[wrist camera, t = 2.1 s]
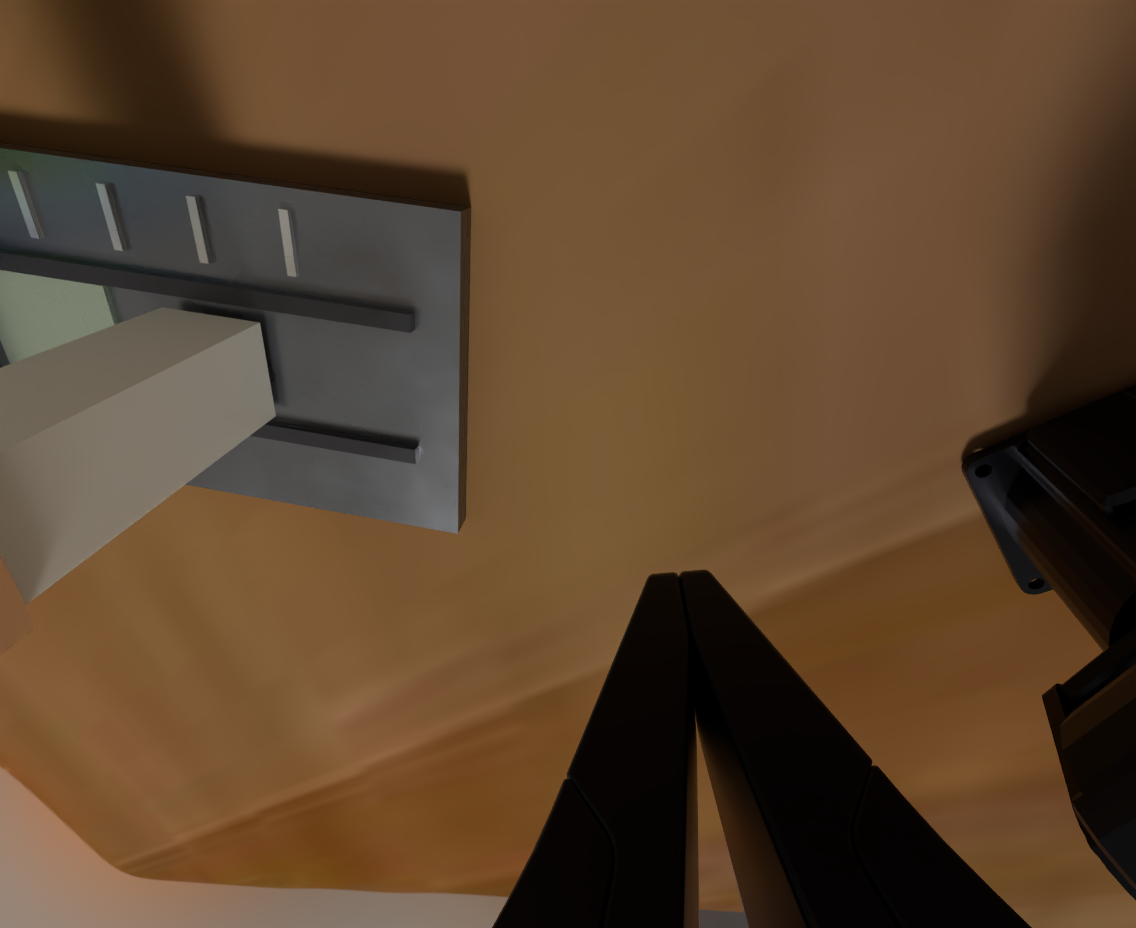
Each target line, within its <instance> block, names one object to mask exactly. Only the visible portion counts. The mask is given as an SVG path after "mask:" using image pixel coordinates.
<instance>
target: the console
mask: <svg viewBox="0 0 1136 928" xmlns="http://www.w3.org/2000/svg"><path fill="white" fill-rule="evenodd" d="M470 220H471V207H465V206H458V205H451V204H443V203H436V202H429V201H422V200H414V199H407V198H400V197H392V196H385V195H378V194H371V193H363V192H356V191H349V190H341V189H334V188H327V187H320V186H312V185H305V184H298V183H290V182H283V181H276V180H269V179H261V178H254V177H247V176H239V175H232V174H225V173H218V172H210V171H203V170H196V169H188V168H181V167H174V166H167V165H159V164H152V163H145V162H137V161H130V160H123V159H116V158H108V157H101V156H94V155H86V154H79V153H72V152H65V151H57V150H50V149H43V148H35V147H28V146H21V145H14V144H6V143H0V368H1V367H4V366H6V365H9V364H12V363H14V362H17V361H20V360H22V359H25V358H28V357H30V356H33V355H36V354H38V353H41V352H44V351H46V350H49V349H52V348H55V347H57V346H60V345H63V344H65V343H68V342H71V341H73V340H76V339H79V338H81V337H84V336H87V335H89V334H92V333H95V332H97V331H100V330H103V329H105V328H108V327H111V326H113V325H116V324H119V323H121V322H124V321H127V320H129V319H132V318H135V317H138V316H140V315H143V314H146V313H148V312H151V311H154V310H156V309H159V308H162V307H164V308H170V309H177V310H183V311H189V312H196V313H202V314H208V315H215V316H221V317H228V318H234V319H240V320H247V321H253V322H260V326H261V332H262V338H263V343H264V349H265V355H266V361H267V367H268V373H269V379H270V384H271V390H272V396H273V402H274V408H275V414H276V416H275V417H274V418H273V419H271V420H270V421H269V422H267V423H266V424H265V425H263V426H262V427H261V428H259V429H258V430H257V431H255V432H254V433H253V434H251V435H250V436H249V437H247V438H246V439H245V440H243V441H242V442H241V443H240V444H238V445H237V446H236V447H234V448H233V449H232V450H230V451H229V452H228V453H226V454H225V455H224V456H222V457H221V458H220V459H218V460H217V461H216V462H214V463H213V464H212V465H210V466H209V467H208V468H206V469H205V470H204V471H202V472H201V473H200V474H198V475H197V476H196V477H195V478H193V479H192V480H191V481H189V482H188V483H187V484H185V485H191V486H197V487H202V488H208V489H213V490H219V491H224V492H230V493H235V494H241V495H246V496H252V497H258V498H263V499H269V500H274V501H280V502H285V503H291V504H296V505H302V506H307V507H313V508H319V509H324V510H330V511H335V512H341V513H346V514H352V515H357V516H363V517H368V518H374V519H380V520H385V521H391V522H396V523H402V524H407V525H413V526H418V527H424V528H429V529H435V530H441V531H446V532H452V533H457V534H458V532H459V531H460V529H461V527H462V525H463V523H464V521H465V512H466V453H467V395H468V337H469V279H470Z"/></svg>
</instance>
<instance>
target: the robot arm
mask: <svg viewBox="0 0 1136 928" xmlns="http://www.w3.org/2000/svg"><path fill="white" fill-rule="evenodd" d="M984 464H987V465H986V467H985V468H984V469H983V470H981V471H977V472H976V471H975V470H976V468H977V467H979V466H980V465H984ZM961 467H962V472H963V474H964V476H965V478H966V480H967V482H968V484H969V486H970V489H971V491H972V493H973V495H974V497H975V499H976V501H977V503H978V505H979V507H980V509H981V511H982V513H983V515H984V517H985V519H986V522H987V524H988V526H989V528H990V530H991V532H992V534H993V536H994V538H995V540H996V542H997V544H998V546H999V548H1000V550H1001V553H1002V555H1003V557H1004V559H1005V561H1006V563H1007V565H1008V567H1009V569H1010V571H1011V573H1012V575H1013V577H1014V579H1015V581H1016V583H1017V584H1018V586H1019V587H1020V588H1021V590H1022V591H1023V592H1025V593H1027V594H1034V595H1035V594H1040V593H1043V592H1047V591H1050V590H1053V589H1054V591H1055V592H1056V593H1057V594H1058V596H1059V597H1060V598H1061V599H1062V601H1063V602H1064V603H1065V604H1066V605H1067V607H1068V608H1069V609H1070V610H1071V612H1072V613H1073V614H1074V615H1075V617H1076V618H1077V619H1078V620H1079V622H1080V623H1081V624H1082V625H1083V627H1084V628H1085V629H1086V630H1087V631H1088V633H1089V634H1090V635H1091V636H1092V638H1093V639H1094V640H1095V641H1096V643H1097V644H1098V645H1099V646H1100V648H1101V649H1102V650H1103V652H1102V653H1101V654H1100V655H1098V656H1097V657H1096V658H1095V659H1093V660H1092V661H1091V662H1090V663H1088V664H1087V665H1086V666H1085V667H1083V668H1082V669H1081V670H1080V671H1078V672H1077V673H1076V674H1075V675H1073V676H1072V677H1071V678H1070V679H1068V680H1067V681H1066V682H1065V683H1063V684H1062V685H1061V684H1055V685H1054V686H1053V687H1052V688H1050V689H1049V690H1048V691H1047V692H1045V693H1044V694H1043V695H1042V699H1043V702H1044V706H1045V710H1046V713H1047V717H1048V720H1049V724H1050V728H1051V731H1052V735H1053V738H1054V742H1055V746H1056V749H1057V753H1058V756H1059V760H1060V764H1061V767H1062V771H1063V774H1064V778H1065V782H1066V785H1067V789H1068V792H1069V796H1070V800H1071V803H1072V807H1073V810H1074V813H1075V815H1076V818H1077V821H1078V823H1079V826H1080V828H1081V830H1082V831H1083V833H1084V835H1085V837H1086V840H1087V842H1088V844H1089V846H1090V848H1091V849H1092V850H1093V852H1094V853H1095V854H1096V855H1097V856H1098V857H1099V858H1100V859H1101V861H1102V862H1103V864H1104V865H1105V866H1106V868H1107V869H1108V870H1109V872H1110V873H1111V874H1112V875H1113V876H1114V877H1115V878H1116V879H1117V881H1118V882H1119V883H1120V884H1121V885H1122V886H1123V887H1124V888H1125V890H1126V891H1127V892H1128V893H1129V894H1130V895H1131V896H1132V897H1133V898H1134V899H1135V900H1136V385H1135V386H1133V387H1130V388H1128V389H1126V390H1123V391H1121V392H1117V393H1114V394H1112V395H1110V396H1107V397H1105V398H1103V399H1100V400H1098V401H1095V402H1093V403H1091V404H1088V405H1086V406H1084V407H1081V408H1079V409H1076V410H1074V411H1072V412H1069V413H1067V414H1065V415H1062V416H1060V417H1057V418H1055V419H1053V420H1050V421H1048V422H1046V423H1043V424H1041V425H1038V426H1036V427H1034V428H1032V429H1030V430H1028V431H1026V432H1023V433H1021V434H1019V435H1016V436H1014V437H1011V438H1009V439H1007V440H1004V441H1002V442H1000V443H997V444H995V445H992V446H990V447H988V448H985V449H983V450H980V451H978V452H976V453H973V454H972V455H970V456H968V457H967V458H966V459H965V460H964V461H963V464H962V466H961ZM1034 579H1037V580H1035V581H1033V582H1030V581H1032V580H1034ZM695 717H696V722H695ZM696 723H697V729H698V733H699V737H700V742H701V746H702V750H703V754H704V758H705V762H706V765H707V769H708V773H709V777H710V781H711V785H712V788H713V792H714V796H715V800H716V804H717V808H718V811H719V815H720V819H721V823H722V827H723V831H724V834H725V838H726V842H727V846H728V850H729V854H730V857H731V861H732V865H733V869H734V873H735V877H736V880H737V884H738V888H739V892H740V896H741V900H742V904H743V907H744V911H745V915H746V919H747V923H748V927H749V928H1031V927H1030V926H1029V925H1028V924H1027V923H1026V922H1025V921H1024V920H1023V919H1022V918H1021V917H1020V916H1019V915H1018V914H1017V913H1016V912H1015V911H1014V910H1013V909H1012V908H1011V907H1010V906H1009V905H1008V904H1007V903H1006V902H1005V901H1004V900H1003V899H1002V898H1001V897H1000V896H998V895H997V894H996V893H995V892H994V891H993V890H992V889H991V888H990V887H989V886H988V885H987V884H986V883H985V882H984V881H983V880H982V879H981V878H980V877H979V876H978V874H977V873H976V872H975V871H974V870H973V869H972V868H971V867H970V866H969V865H968V864H967V863H966V862H965V861H964V860H963V859H962V858H961V857H960V856H959V855H958V854H957V853H956V852H955V851H954V850H953V849H952V848H951V847H950V846H949V845H948V844H947V843H946V842H945V841H944V840H943V839H942V838H941V837H940V836H939V835H938V834H937V833H936V831H935V830H934V829H933V828H932V827H931V826H930V825H929V824H928V823H927V821H926V820H925V819H924V818H923V817H922V816H921V815H920V814H919V813H918V812H917V810H916V809H915V808H914V807H913V806H912V805H911V804H910V803H909V802H908V801H907V799H906V798H905V797H904V796H903V795H902V794H901V793H900V791H899V790H898V789H897V788H896V787H895V786H894V784H893V783H892V782H891V781H890V780H889V779H888V777H887V776H886V775H885V774H884V773H883V772H882V770H881V769H880V768H879V767H878V766H876V765H873V766H872V760H871V758H870V757H869V756H868V755H867V754H866V752H865V751H864V750H863V749H862V748H861V747H860V745H859V744H858V743H857V742H856V741H855V740H854V738H853V737H852V736H851V735H850V734H849V733H848V731H847V730H846V729H845V728H844V727H843V726H842V725H841V723H840V722H839V721H838V720H837V719H836V718H835V716H834V715H833V714H832V713H831V712H830V711H829V709H828V708H827V707H826V706H825V705H824V704H823V702H822V701H821V700H820V699H819V698H818V697H817V695H816V694H815V693H814V692H813V691H812V690H811V689H810V687H809V686H808V685H807V684H806V683H805V682H804V680H803V679H802V678H801V677H800V676H799V675H798V673H797V672H796V671H795V670H794V669H793V668H792V666H791V665H790V664H789V663H788V662H787V661H786V660H785V658H784V657H783V656H782V655H781V654H780V653H779V651H778V650H777V649H776V648H775V647H774V646H773V644H772V643H771V642H770V641H769V640H768V639H767V637H766V636H765V635H764V634H763V633H762V632H761V630H760V629H759V628H758V627H757V626H756V625H755V624H754V622H753V621H752V620H751V619H750V618H749V617H748V615H747V614H746V613H745V612H744V611H743V610H742V608H741V607H740V606H739V605H738V604H737V603H736V601H735V600H734V599H733V598H732V597H731V596H730V595H729V593H728V592H727V591H726V590H725V589H724V588H723V586H722V585H721V584H720V583H719V582H718V581H717V579H716V578H715V577H714V576H713V575H712V574H711V573H710V572H709V571H707V570H694V571H683V572H681V573H680V575H679V576H678V575H677V573H675V572H670V573H659V574H651V575H650V576H649V577H648V579H647V581H646V583H645V586H644V588H643V590H642V593H641V595H640V598H639V600H638V603H637V605H636V607H635V610H634V612H633V615H632V617H631V619H630V622H629V624H628V627H627V629H626V632H625V634H624V636H623V639H622V641H621V644H620V646H619V648H618V651H617V653H616V656H615V658H614V661H613V663H612V665H611V668H610V670H609V673H608V675H607V678H606V680H605V682H604V685H603V687H602V690H601V692H600V694H599V697H598V699H597V702H596V704H595V707H594V709H593V711H592V714H591V716H590V719H589V721H588V723H587V726H586V728H585V731H584V733H583V736H582V738H581V740H580V743H579V745H578V748H577V750H576V753H575V755H574V757H573V760H572V762H571V765H570V767H569V769H568V772H567V778H568V779H565V780H564V781H563V783H562V786H561V788H560V790H559V793H558V795H557V798H556V800H555V803H554V805H553V807H552V810H551V812H550V814H549V816H548V819H547V821H546V823H545V825H544V827H543V830H542V832H541V834H540V836H539V838H538V841H537V843H536V845H535V847H534V850H533V852H532V854H531V856H530V858H529V860H528V861H527V863H526V865H525V867H524V869H523V871H522V873H521V875H520V877H519V879H518V881H517V883H516V885H515V886H514V888H513V890H512V892H511V894H510V896H509V898H508V900H507V902H506V904H505V906H504V907H503V909H502V911H501V913H500V914H499V916H498V918H497V920H496V922H495V923H494V925H493V927H492V928H699V875H698V801H697V740H696Z"/></svg>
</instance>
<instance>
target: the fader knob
mask: <svg viewBox="0 0 1136 928" xmlns="http://www.w3.org/2000/svg"><path fill="white" fill-rule="evenodd" d="M275 416H276V414H275V408H274V402H273V396H272V390H271V384H270V379H269V373H268V367H267V361H266V355H265V349H264V343H263V338H262V332H261V326H260V322H253V321H247V320H240V319H234V318H228V317H221V316H215V315H208V314H202V313H196V312H189V311H183V310H177V309H170V308H164V307H162V308H159V309H156V310H154V311H151V312H148V313H146V314H143V315H140V316H138V317H135V318H132V319H129V320H127V321H124V322H121V323H119V324H116V325H113V326H111V327H108V328H105V329H103V330H100V331H97V332H95V333H92V334H89V335H87V336H84V337H81V338H79V339H76V340H73V341H71V342H68V343H65V344H63V345H60V346H57V347H55V348H52V349H49V350H46V351H44V352H41V353H38V354H36V355H33V356H30V357H28V358H25V359H22V360H20V361H17V362H14V363H12V364H9V365H6V366H4V367H1V368H0V655H2V654H3V653H4V652H5V651H7V650H8V649H9V648H10V647H12V646H13V645H14V644H15V643H17V642H18V641H19V640H20V639H22V638H23V637H24V636H25V635H27V634H28V633H29V632H30V631H31V630H33V629H34V628H35V627H36V624H35V622H34V620H33V618H32V616H31V614H30V613H29V611H28V609H27V607H26V604H28V603H29V602H30V601H32V600H33V599H34V598H36V597H37V596H38V595H40V594H41V593H42V592H44V591H45V590H46V589H48V588H49V587H50V586H52V585H53V584H54V583H56V582H57V581H58V580H60V579H61V578H62V577H64V576H65V575H66V574H67V573H69V572H70V571H71V570H73V569H74V568H75V567H77V566H78V565H79V564H81V563H82V562H83V561H85V560H86V559H87V558H89V557H90V556H91V555H93V554H94V553H95V552H97V551H98V550H99V549H101V548H102V547H103V546H105V545H106V544H107V543H109V542H110V541H111V540H112V539H114V538H115V537H116V536H118V535H119V534H120V533H122V532H123V531H124V530H126V529H127V528H128V527H130V526H131V525H132V524H134V523H135V522H136V521H138V520H139V519H140V518H142V517H143V516H144V515H146V514H147V513H148V512H150V511H151V510H152V509H154V508H155V507H156V506H157V505H159V504H160V503H161V502H163V501H164V500H165V499H167V498H168V497H169V496H171V495H172V494H173V493H175V492H176V491H177V490H179V489H180V488H181V487H183V486H184V485H185V484H187V483H188V482H189V481H191V480H192V479H193V478H195V477H196V476H197V475H198V474H200V473H201V472H202V471H204V470H205V469H206V468H208V467H209V466H210V465H212V464H213V463H214V462H216V461H217V460H218V459H220V458H221V457H222V456H224V455H225V454H226V453H228V452H229V451H230V450H232V449H233V448H234V447H236V446H237V445H238V444H240V443H241V442H242V441H243V440H245V439H246V438H247V437H249V436H250V435H251V434H253V433H254V432H255V431H257V430H258V429H259V428H261V427H262V426H263V425H265V424H266V423H267V422H269V421H270V420H271V419H273V418H274V417H275Z"/></svg>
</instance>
